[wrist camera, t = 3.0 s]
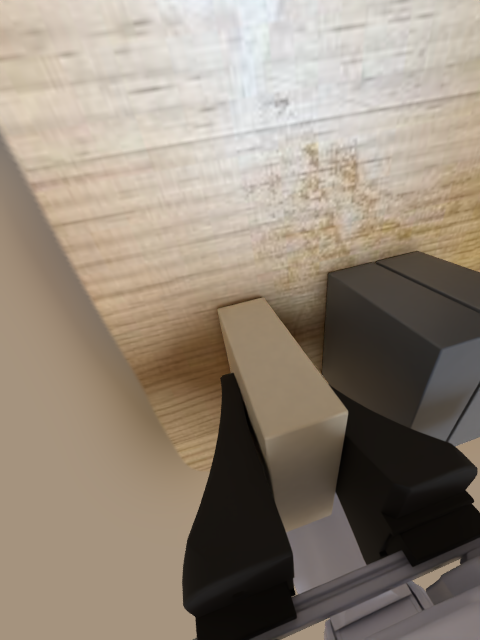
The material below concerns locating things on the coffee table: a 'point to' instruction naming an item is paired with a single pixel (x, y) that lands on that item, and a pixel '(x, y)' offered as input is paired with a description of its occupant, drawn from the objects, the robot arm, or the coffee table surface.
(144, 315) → the coffee table surface
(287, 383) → the cream book
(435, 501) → the robot arm
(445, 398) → the grey books
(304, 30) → the coffee table surface
